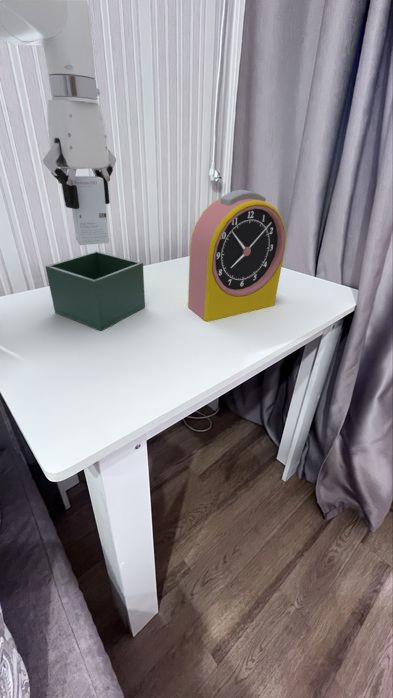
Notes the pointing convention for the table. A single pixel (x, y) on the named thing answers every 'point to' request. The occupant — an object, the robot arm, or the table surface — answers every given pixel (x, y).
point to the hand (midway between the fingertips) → (88, 204)
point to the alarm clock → (235, 256)
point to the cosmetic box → (90, 211)
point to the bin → (97, 288)
